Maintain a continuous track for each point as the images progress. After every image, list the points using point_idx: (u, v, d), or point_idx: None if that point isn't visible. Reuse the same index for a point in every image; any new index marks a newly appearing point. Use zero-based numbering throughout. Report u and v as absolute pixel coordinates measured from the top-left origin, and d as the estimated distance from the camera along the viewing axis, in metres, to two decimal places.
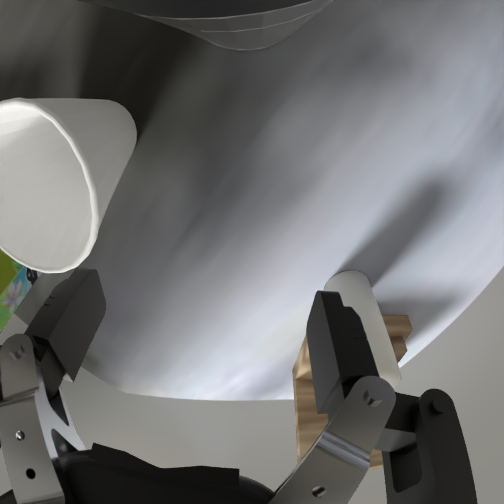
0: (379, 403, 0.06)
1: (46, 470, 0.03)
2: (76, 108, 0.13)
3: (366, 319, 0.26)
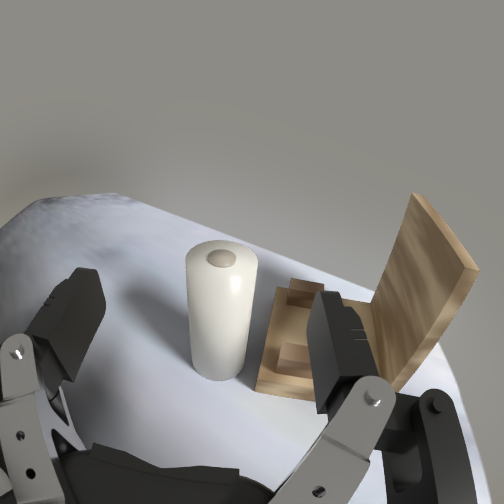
0: (379, 403, 0.06)
1: (46, 470, 0.03)
2: None
3: None
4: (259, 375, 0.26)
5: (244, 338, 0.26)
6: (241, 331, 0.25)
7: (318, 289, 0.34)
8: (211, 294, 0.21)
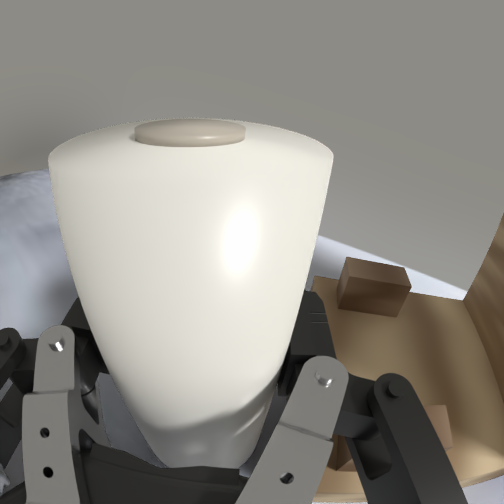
0: (329, 382, 0.06)
1: (65, 473, 0.03)
2: None
3: None
4: None
5: (266, 407, 0.08)
6: (262, 398, 0.07)
7: (399, 277, 0.16)
8: (118, 263, 0.04)
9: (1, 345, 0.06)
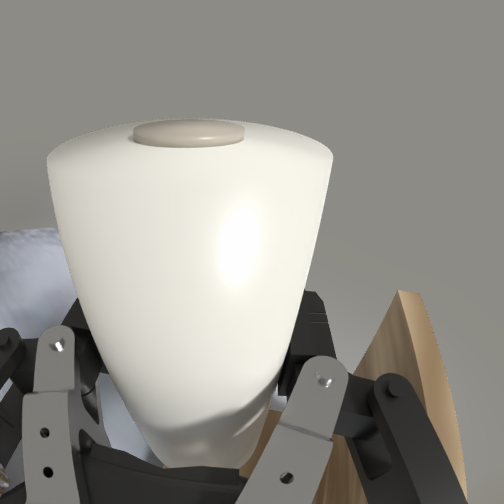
0: (329, 382, 0.06)
1: (66, 473, 0.03)
2: None
3: None
4: None
5: (266, 408, 0.08)
6: (261, 399, 0.07)
7: None
8: (116, 265, 0.04)
9: (1, 345, 0.06)
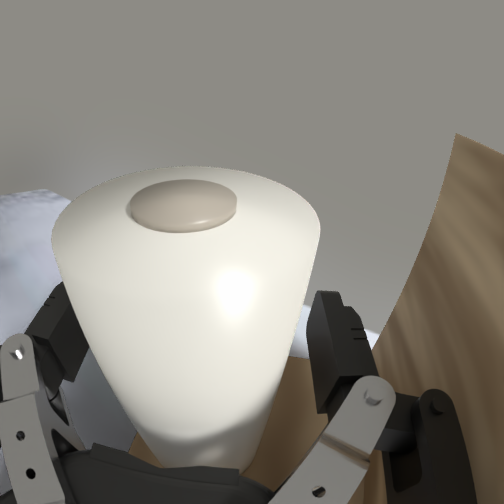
0: (379, 403, 0.06)
1: (46, 471, 0.03)
2: None
3: None
4: None
5: (261, 429, 0.09)
6: (256, 425, 0.08)
7: None
8: (128, 348, 0.04)
9: None
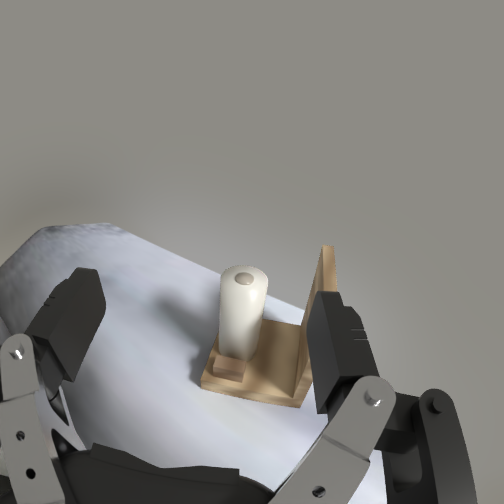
0: (379, 403, 0.06)
1: (46, 470, 0.03)
2: None
3: None
4: (202, 377, 0.37)
5: (258, 331, 0.38)
6: (256, 326, 0.37)
7: None
8: (238, 302, 0.33)
9: None
